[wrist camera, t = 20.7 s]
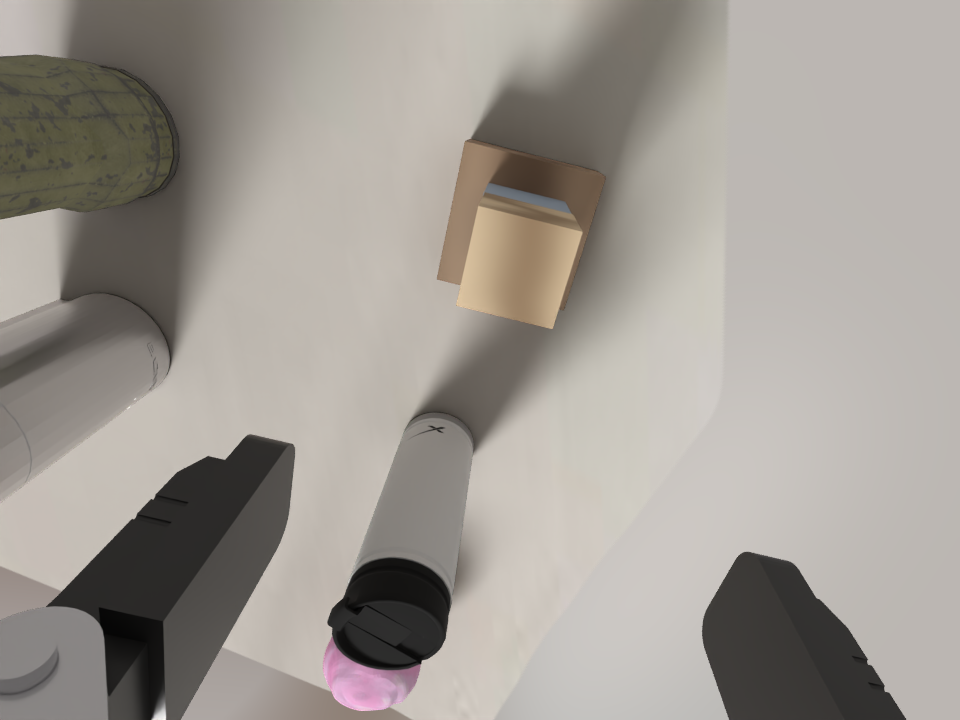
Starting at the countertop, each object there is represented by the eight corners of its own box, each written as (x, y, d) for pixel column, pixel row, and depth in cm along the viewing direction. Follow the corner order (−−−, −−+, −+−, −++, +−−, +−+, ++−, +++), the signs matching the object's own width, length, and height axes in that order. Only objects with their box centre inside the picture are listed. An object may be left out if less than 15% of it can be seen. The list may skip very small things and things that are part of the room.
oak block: (465, 278, 32) (456, 305, 27) (484, 192, 29) (478, 205, 25) (548, 298, 32) (552, 329, 27) (573, 214, 30) (582, 231, 25)
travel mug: (428, 395, 45) (366, 582, 27) (488, 439, 47) (468, 646, 28) (385, 442, 47) (301, 644, 29) (444, 483, 49) (399, 700, 31)
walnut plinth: (444, 264, 40) (436, 279, 37) (470, 138, 37) (465, 141, 33) (559, 293, 41) (563, 310, 37) (597, 171, 37) (605, 177, 33)
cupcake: (331, 609, 57) (295, 703, 47) (371, 559, 53) (340, 650, 44) (403, 646, 58) (382, 744, 49) (446, 600, 55) (432, 696, 46)
